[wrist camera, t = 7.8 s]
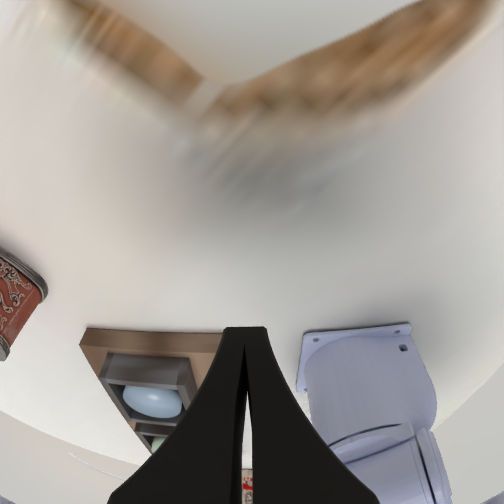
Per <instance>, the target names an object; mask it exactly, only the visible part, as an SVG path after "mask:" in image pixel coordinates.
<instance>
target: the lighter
mask: <svg viewBox="0 0 504 504" xmlns="http://www.w3.org/2000/svg"><path fill="white" fill-rule="evenodd" d="M47 294H48V287H47V284H46V282H45V281H44V279H43V278H42V277H41V276H39V275H38V274H37V273H36V272H35V271H33V270H32V269H31V268H30V267H29V266H27V265H26V264H25V263H23V262H22V261H21V260H19V259H18V258H17V257H15V256H14V255H12V254H11V253H9V252H7V251H6V250H4V249H3V248H1V247H0V361H5V360H6V358H7V357H8V355H9V353H10V347H11V345H12V344H13V342H14V340H15V339H16V337H17V336H18V334H19V332H20V331H21V329H22V328H23V326H24V325H25V323H26V322H27V320H28V319H29V317H30V316H31V314H32V313H33V311H34V310H35V308H36V307H37V305H38V304H41V303H42V302H43V300H44V299H45V298H46V296H47Z"/></svg>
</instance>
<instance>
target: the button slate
mask: <svg viewBox="0 0 504 504" xmlns="http://www.w3.org/2000/svg"><path fill="white" fill-rule="evenodd" d="M123 399H124V401H125V402H126V403H127V404H128V405H129V406H130V407H131V408H133V409H134V410H136V411H138V412H140V413H142V414H145V415H148V416H151V417H157V418H170V417H174V416H177V415H178V414H179V413H180V412H181V407H182V400H181V397H180V394H179V392H178V390H173V389H159V388H147V387H137V386H128V385H126V386H125V390H124V393H123Z"/></svg>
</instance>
